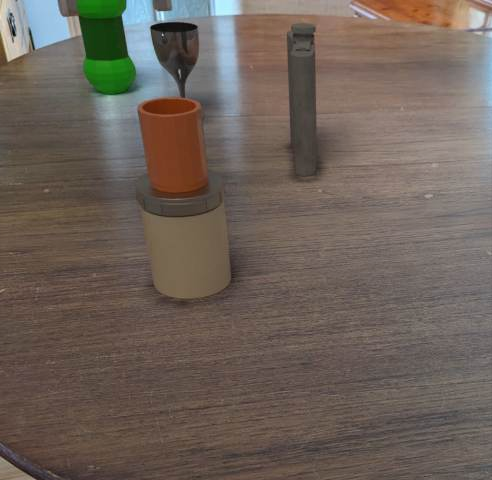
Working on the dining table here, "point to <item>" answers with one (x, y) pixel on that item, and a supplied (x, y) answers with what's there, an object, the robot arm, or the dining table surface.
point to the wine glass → (176, 49)
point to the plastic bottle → (105, 45)
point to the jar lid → (180, 197)
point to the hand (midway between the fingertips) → (117, 12)
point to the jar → (188, 253)
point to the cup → (174, 144)
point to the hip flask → (302, 97)
